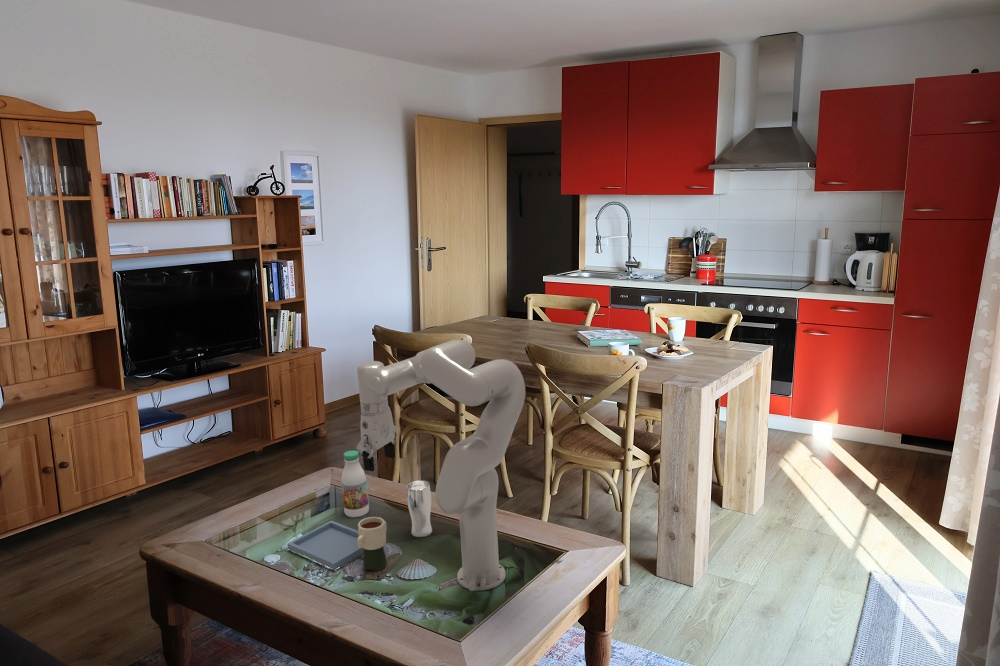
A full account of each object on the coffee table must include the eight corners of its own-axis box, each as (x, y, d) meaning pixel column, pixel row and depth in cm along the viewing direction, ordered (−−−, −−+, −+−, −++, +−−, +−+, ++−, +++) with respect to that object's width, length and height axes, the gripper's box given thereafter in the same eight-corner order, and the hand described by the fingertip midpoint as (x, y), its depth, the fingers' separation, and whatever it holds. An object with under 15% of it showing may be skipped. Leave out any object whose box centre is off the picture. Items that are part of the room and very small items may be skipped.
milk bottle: (343, 509, 232) (337, 450, 227) (367, 504, 234) (361, 446, 229) (345, 519, 225) (339, 459, 220) (370, 515, 227) (365, 455, 222)
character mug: (378, 553, 204) (374, 511, 201) (398, 560, 200) (394, 517, 197) (351, 572, 195) (346, 528, 192) (371, 579, 191) (367, 534, 188)
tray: (378, 545, 208) (377, 538, 208) (334, 571, 196) (333, 563, 195) (332, 527, 220) (331, 520, 220) (288, 551, 208) (287, 543, 207)
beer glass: (432, 537, 211) (428, 490, 208) (408, 538, 212) (404, 490, 208) (434, 526, 218) (431, 479, 215) (411, 526, 218) (407, 480, 215)
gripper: (366, 417, 192) (372, 477, 196) (403, 397, 207) (408, 454, 211) (343, 414, 196) (349, 473, 200) (381, 395, 211) (387, 450, 215)
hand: (379, 463), depth 206 cm, fingers open, 9 cm apart
